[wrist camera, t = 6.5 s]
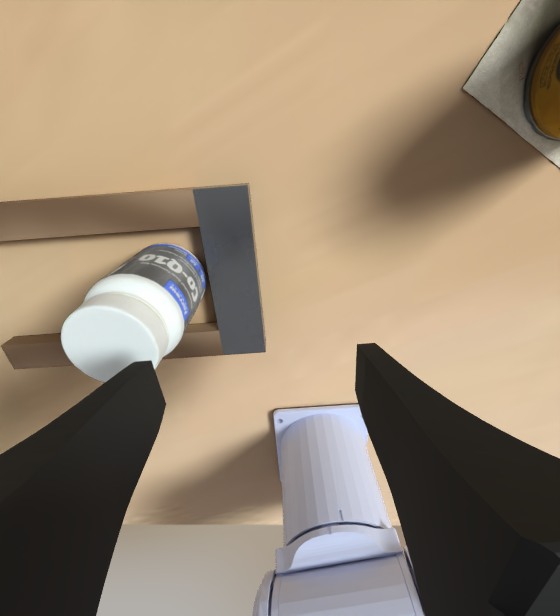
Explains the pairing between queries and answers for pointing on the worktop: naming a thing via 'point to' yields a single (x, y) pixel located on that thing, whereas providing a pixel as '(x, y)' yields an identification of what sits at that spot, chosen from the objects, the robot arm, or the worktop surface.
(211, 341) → the guide channel
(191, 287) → the pill bottle
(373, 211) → the worktop surface
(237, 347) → the panel
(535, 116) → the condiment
